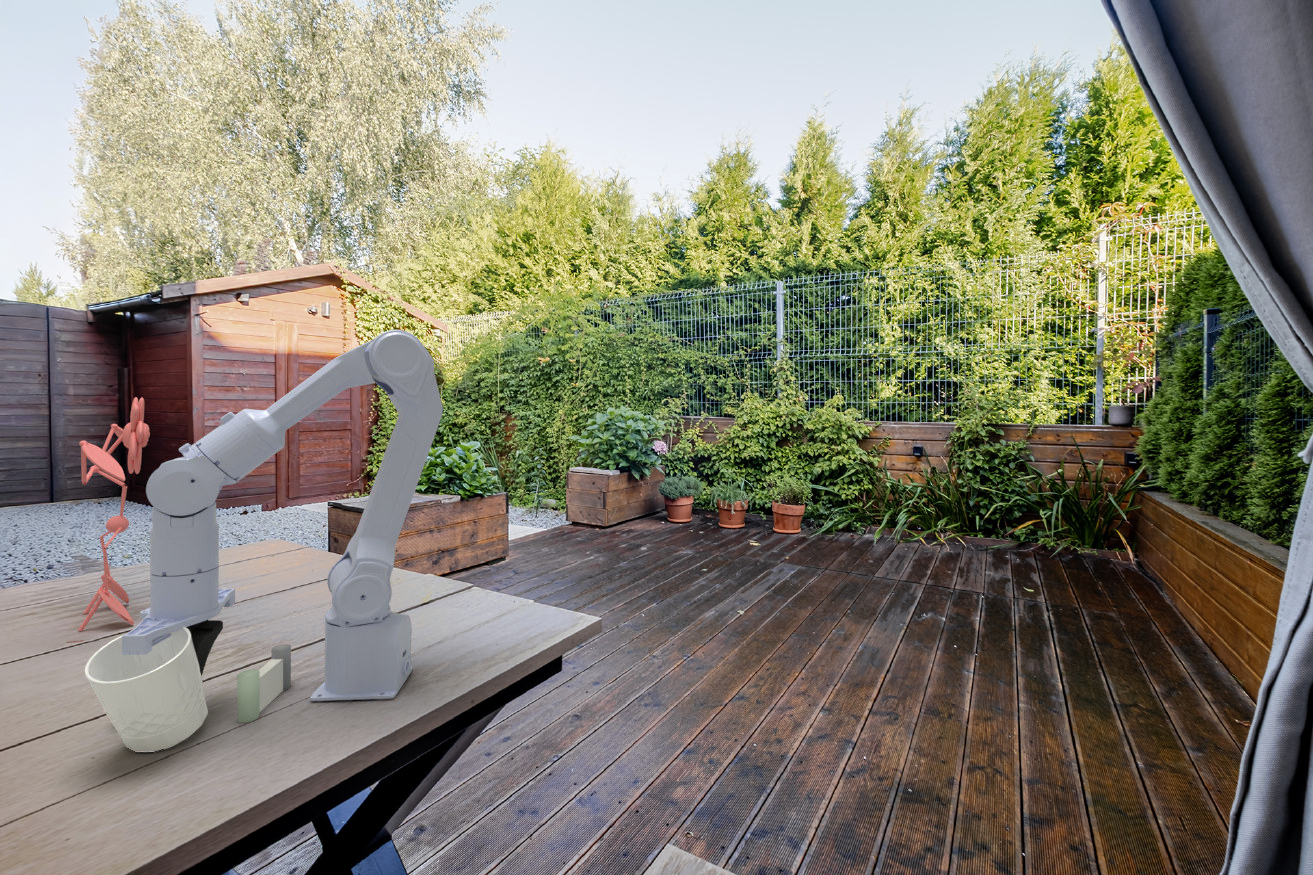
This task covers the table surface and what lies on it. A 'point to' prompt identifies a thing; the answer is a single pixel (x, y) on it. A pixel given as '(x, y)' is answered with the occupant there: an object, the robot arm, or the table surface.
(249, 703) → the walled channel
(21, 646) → the table surface
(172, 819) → the table surface
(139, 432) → the figurine
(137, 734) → the white cup
